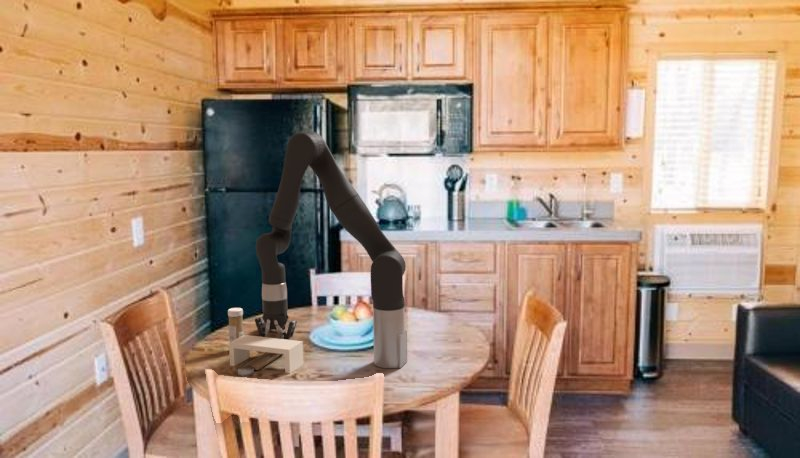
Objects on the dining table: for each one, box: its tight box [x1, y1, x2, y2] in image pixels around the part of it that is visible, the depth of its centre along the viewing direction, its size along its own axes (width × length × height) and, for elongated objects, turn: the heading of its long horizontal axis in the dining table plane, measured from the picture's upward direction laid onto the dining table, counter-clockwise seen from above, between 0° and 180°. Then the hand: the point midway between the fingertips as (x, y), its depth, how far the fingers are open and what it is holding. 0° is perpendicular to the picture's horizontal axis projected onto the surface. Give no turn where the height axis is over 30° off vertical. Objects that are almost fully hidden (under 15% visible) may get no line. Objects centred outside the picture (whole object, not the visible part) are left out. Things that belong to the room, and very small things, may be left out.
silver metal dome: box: [237, 366, 255, 377], centre depth 179 cm, size 4×4×2 cm
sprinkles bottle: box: [227, 307, 245, 343], centre depth 198 cm, size 5×5×13 cm
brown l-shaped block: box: [243, 329, 283, 371], centre depth 188 cm, size 4×16×7 cm, turn 160°
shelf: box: [228, 334, 305, 374], centre depth 185 cm, size 20×8×7 cm, turn 70°
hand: (276, 350), depth 194 cm, fingers closed on brown l-shaped block, 4 cm apart
